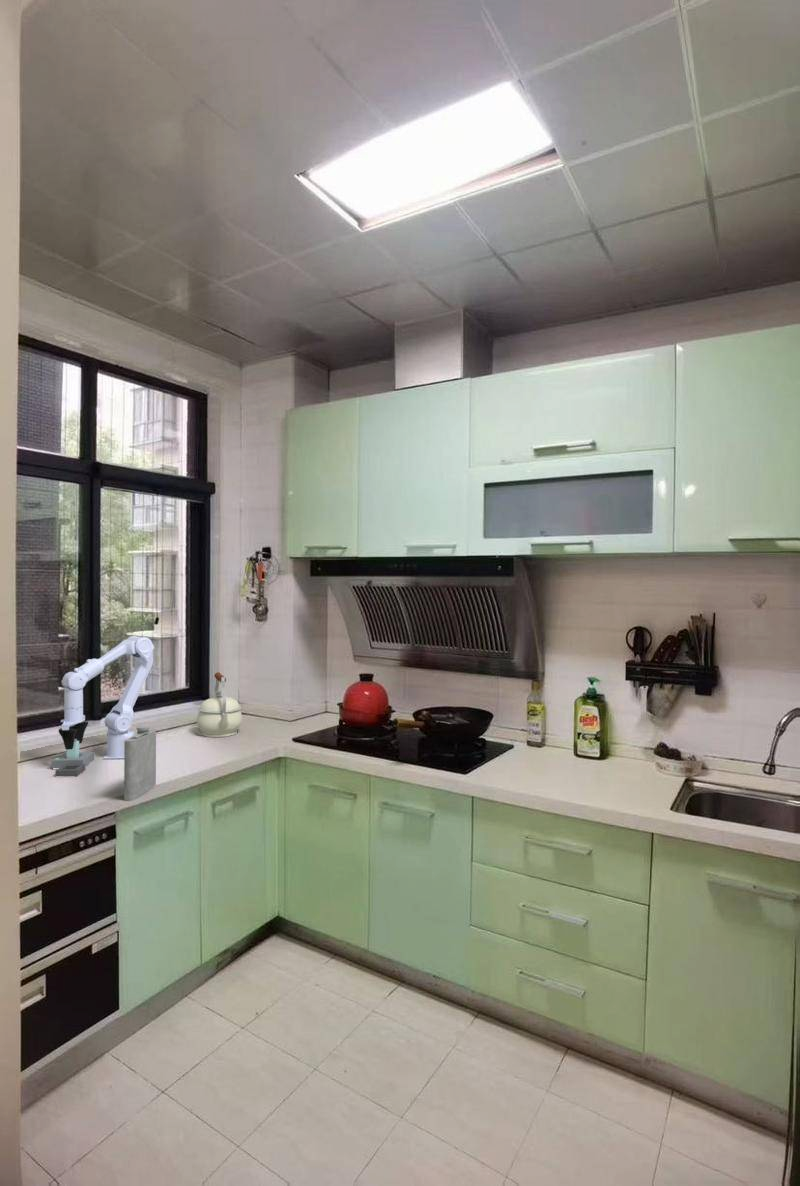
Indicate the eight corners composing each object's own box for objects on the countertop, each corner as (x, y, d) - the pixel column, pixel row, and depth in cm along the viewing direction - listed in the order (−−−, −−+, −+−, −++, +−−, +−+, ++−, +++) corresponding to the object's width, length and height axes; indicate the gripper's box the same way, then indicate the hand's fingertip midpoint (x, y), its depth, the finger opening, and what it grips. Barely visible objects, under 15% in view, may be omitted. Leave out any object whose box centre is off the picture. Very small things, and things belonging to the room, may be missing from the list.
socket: (94, 760, 221) (94, 751, 221) (83, 768, 212) (83, 759, 211) (64, 760, 220) (64, 751, 220) (51, 769, 210) (51, 759, 210)
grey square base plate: (85, 770, 210) (85, 764, 210) (77, 776, 203) (77, 770, 203) (64, 770, 209) (64, 764, 209) (55, 776, 203) (55, 770, 203)
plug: (79, 763, 218) (79, 738, 217) (75, 766, 215) (75, 740, 214) (70, 763, 217) (70, 738, 217) (66, 766, 214) (66, 740, 214)
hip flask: (147, 783, 198) (148, 720, 197) (160, 783, 197) (160, 720, 197) (122, 800, 182) (122, 732, 181) (135, 801, 182) (135, 732, 181)
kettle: (193, 729, 269) (194, 672, 268) (237, 726, 277) (237, 670, 276) (201, 743, 246) (202, 680, 246) (248, 739, 254) (249, 678, 253)
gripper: (70, 703, 222) (70, 740, 223) (52, 711, 208) (52, 752, 208) (91, 702, 223) (91, 740, 223) (74, 711, 209) (74, 751, 209)
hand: (73, 746), depth 216 cm, fingers open, 7 cm apart
